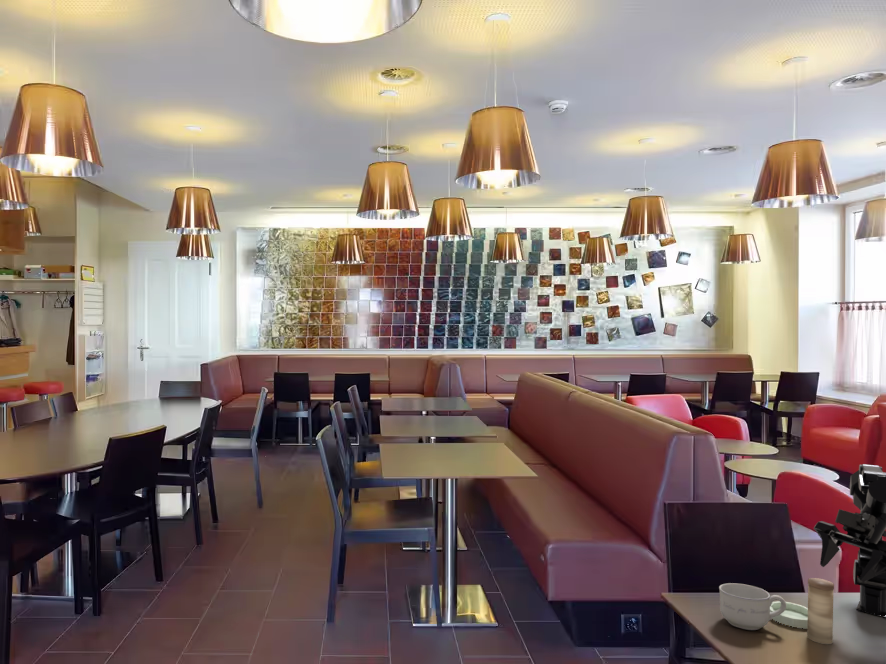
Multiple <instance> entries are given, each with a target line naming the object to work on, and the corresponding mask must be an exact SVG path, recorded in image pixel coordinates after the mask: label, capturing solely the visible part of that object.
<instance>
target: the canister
mask: <svg viewBox="0 0 886 664" xmlns="http://www.w3.org/2000/svg"><path fill="white" fill-rule="evenodd" d="M807 590H808V591H807V608H808V621H807V629H806V630H807V631H806V632H807V633H806V634H807V637H806V638H808V639H809V640H810V641H812V642H815V643H818V644H822V645H831V644H833V641H834V640H833V638H834V635H833V632H834V631H833V630H834V629H833V628H834V590H835V584H834V583H833V582H832V581H829V580H827V579H823V578H818V577H810V578H808V579H807Z"/></svg>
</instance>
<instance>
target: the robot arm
mask: <svg viewBox="0 0 886 664" xmlns="http://www.w3.org/2000/svg"><path fill="white" fill-rule="evenodd" d="M849 479H850V480H849V481H850V482H849V495H850V496H852V503H853V505H854V506H855V507H856V508H857V509H858V510H859V511H860V512H851V511H847V510H843V509H838V512H837V515H836V518H835V521H834V522H835V523H836V524H840V525H841V526H842V529H843V531H844V532H847V533H843V532H841V531H840V530H839V528H838V527H837V526H836V524H833V523H828V522H826V521H823V520H821V521H817V523H816V524H815V525H814V527H813V530H814V531H815V532H816V534H817V535H818V537H819V538H820V539H821V545H822V546H821V554H820V563H819V565H820V567H822V568H824V567H826V566H827V565H828V564H829V563H830V561H832V559H833V558H834V557H835V556H836V554H837V553H839V551H840V550H841V549H840V546H842V544H843V543H844V544H847V545H849V546H854V547H857V548H858V551H857V559H854V562H853V571H852V576H853V578H852V579H853V583H854V585H855V586H859V602H858V603H857V606H856V608H855V609H856V611H858V612H863V613H867V614H871V615H874V614H875V615H874V616H877V615H881V616H885V615H886V540H883V538H886V472H884V471H883V467H882V466H879V465H873V464H866V463H863V464H859V465H858V470H857V471H855V472H854V473H853V474H850V478H849ZM881 616H880V617H881Z"/></svg>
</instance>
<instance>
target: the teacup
mask: <svg viewBox="0 0 886 664" xmlns="http://www.w3.org/2000/svg"><path fill="white" fill-rule="evenodd" d="M718 589H719V610H720V613H721V616H722V617H723V618H724V619H725V620H726V621H727V623H729V625H731V626H733V627H735V628H738V629H742V630H747V631H756V630H760V629H762V628H763V627H764V626H765V625H767V624H768V623H769V621H771V620H772V618H773V617H776V616H778V615H780V614H782V613H783V612H784V611H785V609H786V602H787V601H786V600H785V599H784V598H783V597H782V596H781V595H778V594H773V595H770V593H769V592H768V591H766V589H765V590H764V589H763V588H761V587H758V586H755V585H749V584H744V583H733V582H732V583H731V582H728V583H723V584H720V585H719V586H718ZM775 601H780V602H781V607H780V608H779V609H778V610H776V611H774V612H770V606H771V604H772V602H775ZM772 621H773V620H772Z"/></svg>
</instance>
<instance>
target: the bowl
mask: <svg viewBox="0 0 886 664" xmlns="http://www.w3.org/2000/svg"><path fill="white" fill-rule="evenodd" d="M785 602H786V609H785V611H784V612H783V613H782V614H780V615H778V616H776V617H773V618H772V619H773V620H772V621H774V620H775V621H774V622H776V621H777V622H776V623H778V622H779V623H778V624H780V623H782V624H781V625H783V624H785V625H784V626H786V625H789V626H788V627H790V626H792V627H791V628H793V627H797V629H802V628H803V629H804V630H807V621H808V606H807V607H806V606H804V605H803V604H802V605H801V604H798V603H796V602H795V603H794V602H790V601H785ZM780 607H781V602H780V601H779V600H775V601H773V602H772V604H771V606H770V612H774V611H776V610H778V609H779V608H780Z"/></svg>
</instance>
